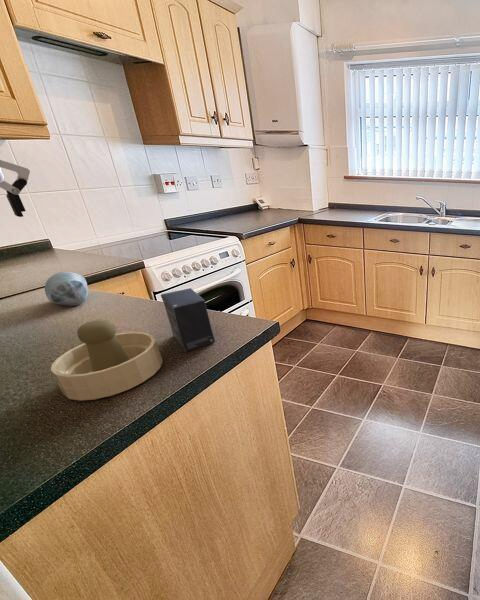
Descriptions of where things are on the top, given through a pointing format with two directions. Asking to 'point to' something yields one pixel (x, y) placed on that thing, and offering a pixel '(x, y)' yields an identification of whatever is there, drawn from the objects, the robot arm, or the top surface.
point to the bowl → (93, 385)
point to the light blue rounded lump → (66, 289)
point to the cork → (102, 344)
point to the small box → (188, 318)
